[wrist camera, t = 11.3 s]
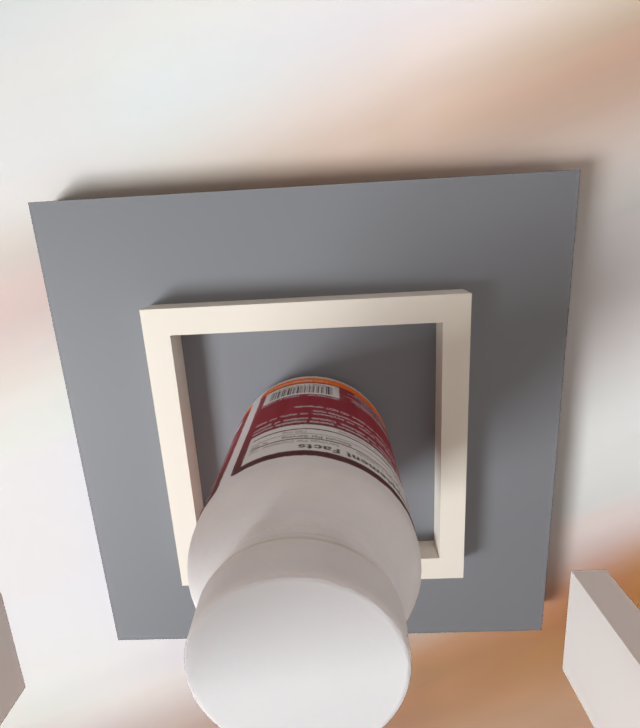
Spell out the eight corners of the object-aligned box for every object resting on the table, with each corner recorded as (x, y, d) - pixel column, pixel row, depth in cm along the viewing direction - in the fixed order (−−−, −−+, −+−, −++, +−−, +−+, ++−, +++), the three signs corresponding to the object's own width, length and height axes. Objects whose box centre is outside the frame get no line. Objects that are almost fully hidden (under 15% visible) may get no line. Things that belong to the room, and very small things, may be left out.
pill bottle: (316, 533, 22) (301, 828, 11) (209, 444, 21) (79, 675, 10) (419, 440, 20) (513, 674, 10) (310, 339, 19) (284, 479, 9)
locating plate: (529, 605, 24) (552, 651, 22) (130, 616, 25) (107, 661, 23) (561, 173, 19) (598, 165, 16) (50, 204, 20) (7, 201, 17)
